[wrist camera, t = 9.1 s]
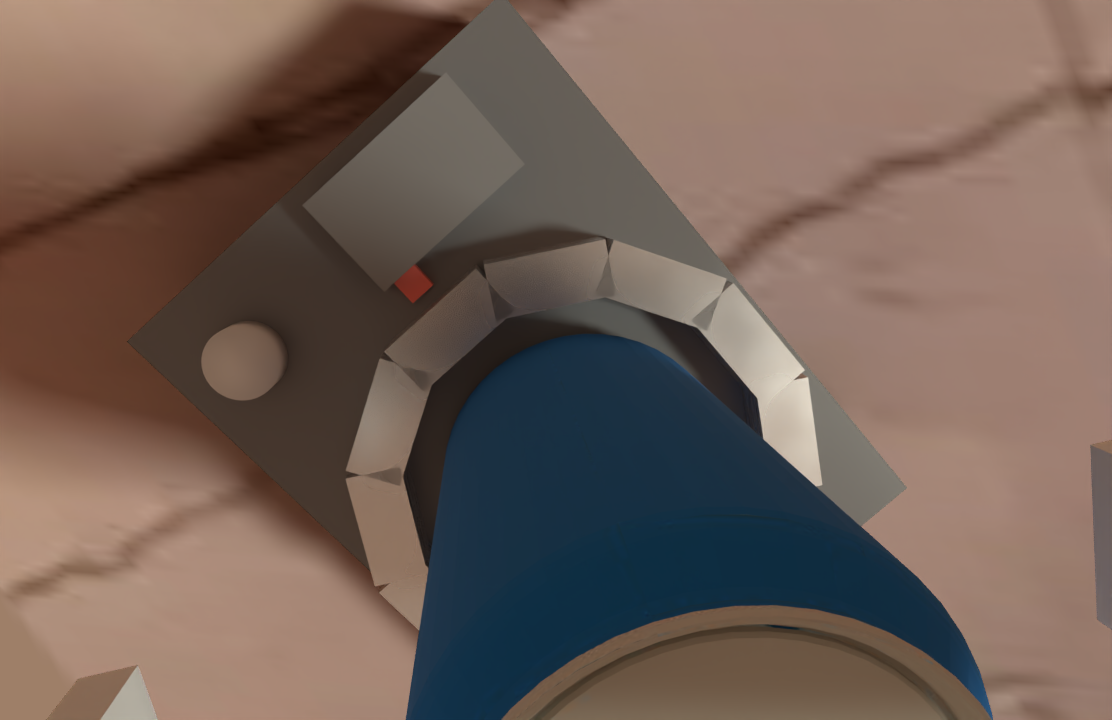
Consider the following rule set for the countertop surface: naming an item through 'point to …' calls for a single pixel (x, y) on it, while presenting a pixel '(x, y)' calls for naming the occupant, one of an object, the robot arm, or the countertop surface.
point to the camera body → (440, 274)
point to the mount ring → (528, 287)
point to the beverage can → (659, 564)
